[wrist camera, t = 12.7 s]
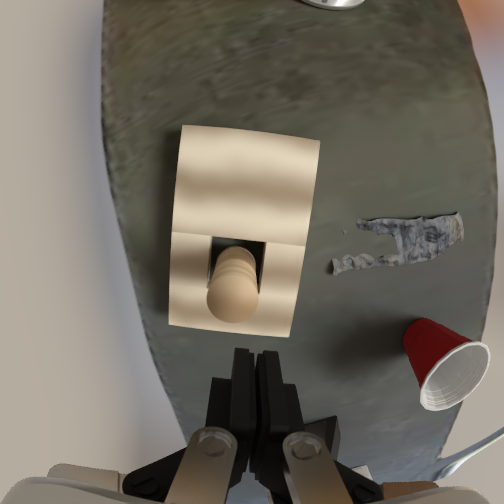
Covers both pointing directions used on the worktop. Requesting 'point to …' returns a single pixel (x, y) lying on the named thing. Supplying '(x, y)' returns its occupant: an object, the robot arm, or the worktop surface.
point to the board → (240, 220)
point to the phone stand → (327, 433)
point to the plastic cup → (444, 363)
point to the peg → (233, 285)
